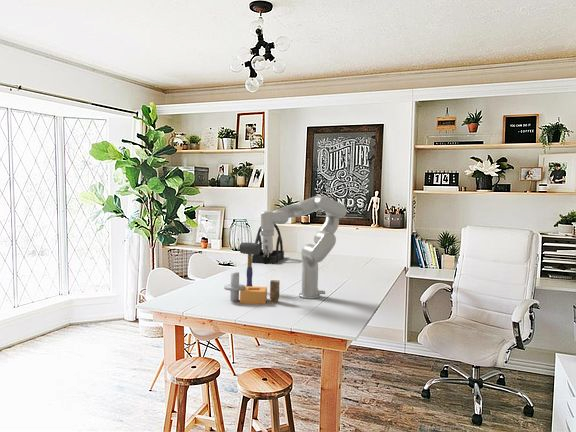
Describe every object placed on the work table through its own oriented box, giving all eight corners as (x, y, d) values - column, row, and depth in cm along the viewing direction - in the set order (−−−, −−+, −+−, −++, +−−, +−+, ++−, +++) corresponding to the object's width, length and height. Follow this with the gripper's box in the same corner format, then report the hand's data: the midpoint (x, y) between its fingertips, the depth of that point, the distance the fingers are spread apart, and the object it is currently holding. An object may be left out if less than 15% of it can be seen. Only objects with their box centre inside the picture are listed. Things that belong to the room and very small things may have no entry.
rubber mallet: (237, 289, 291) (238, 242, 289) (243, 287, 298) (244, 241, 296) (255, 292, 286) (256, 244, 284) (260, 289, 293) (261, 242, 291)
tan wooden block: (279, 300, 266) (279, 280, 266) (278, 302, 262) (279, 281, 262) (270, 300, 267) (270, 280, 266) (269, 302, 263) (270, 281, 262)
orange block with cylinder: (266, 298, 271) (267, 271, 270) (264, 304, 259) (265, 275, 258) (226, 297, 272) (226, 270, 271) (222, 302, 260) (222, 274, 259)
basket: (275, 264, 383) (276, 223, 381) (251, 263, 388) (251, 222, 385) (284, 257, 417) (285, 219, 415) (262, 256, 422) (262, 218, 419)
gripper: (272, 234, 256) (272, 265, 257) (275, 231, 273) (275, 260, 274) (258, 234, 257) (258, 265, 258) (263, 231, 274) (262, 259, 275)
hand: (267, 262), depth 266 cm, fingers open, 9 cm apart
